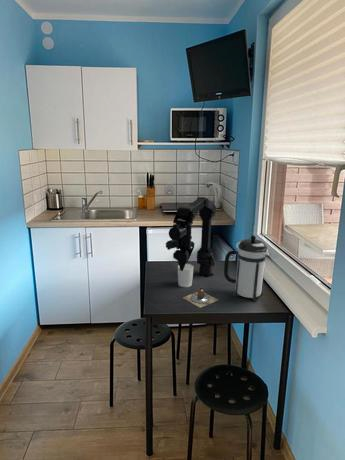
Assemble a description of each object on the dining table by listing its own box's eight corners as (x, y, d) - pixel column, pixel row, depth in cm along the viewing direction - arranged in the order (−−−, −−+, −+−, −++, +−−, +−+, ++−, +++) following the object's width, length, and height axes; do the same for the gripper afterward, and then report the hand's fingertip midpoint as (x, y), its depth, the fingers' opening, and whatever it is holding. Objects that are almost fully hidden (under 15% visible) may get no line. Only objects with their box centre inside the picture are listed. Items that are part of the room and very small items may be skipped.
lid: (200, 292, 158) (200, 283, 157) (214, 299, 152) (214, 290, 150) (186, 297, 153) (187, 288, 151) (200, 305, 146) (201, 296, 145)
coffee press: (255, 287, 167) (260, 229, 159) (269, 302, 151) (276, 239, 143) (222, 289, 164) (226, 230, 156) (233, 304, 148) (238, 240, 140)
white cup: (191, 289, 163) (192, 270, 160) (175, 287, 164) (176, 268, 161) (193, 282, 170) (194, 264, 167) (178, 281, 172) (179, 263, 169)
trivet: (200, 291, 160) (200, 290, 160) (218, 300, 152) (218, 299, 152) (182, 298, 153) (182, 297, 153) (200, 308, 144) (200, 307, 144)
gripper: (172, 228, 160) (171, 258, 164) (162, 238, 142) (161, 272, 147) (195, 230, 157) (193, 260, 162) (187, 241, 140) (186, 275, 144)
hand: (183, 267), depth 154 cm, fingers open, 9 cm apart
